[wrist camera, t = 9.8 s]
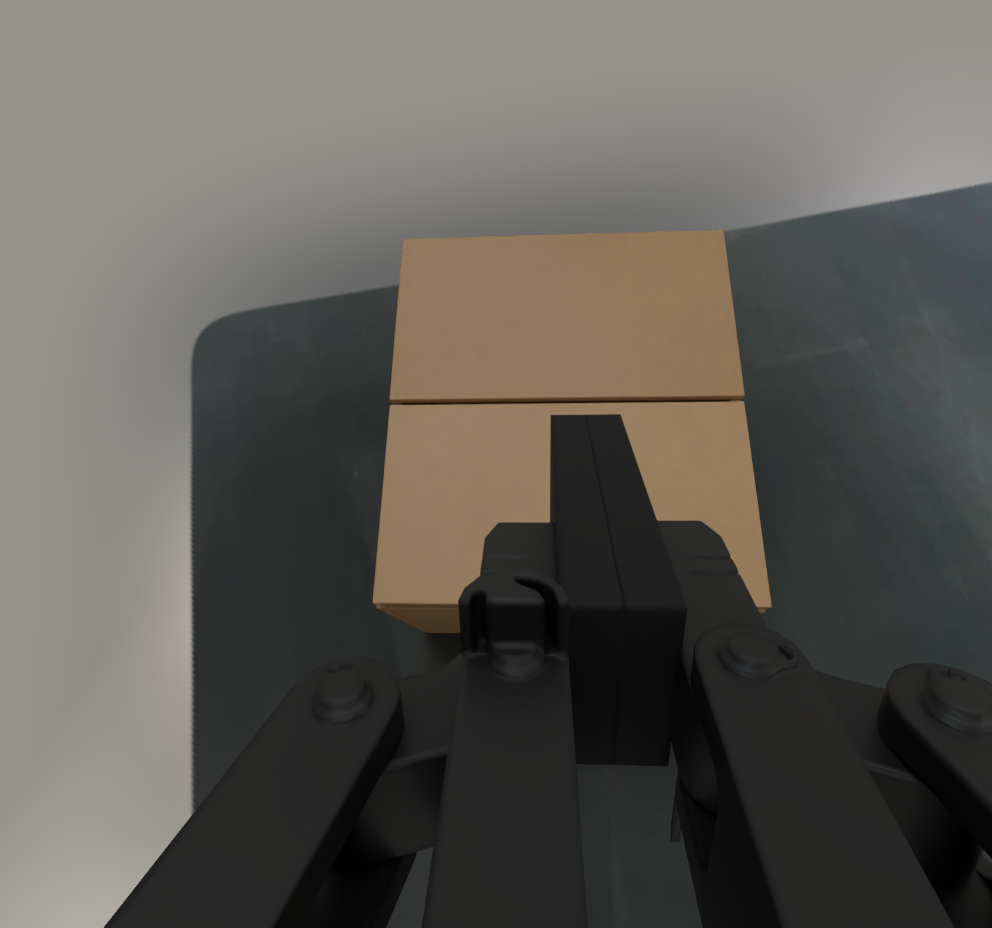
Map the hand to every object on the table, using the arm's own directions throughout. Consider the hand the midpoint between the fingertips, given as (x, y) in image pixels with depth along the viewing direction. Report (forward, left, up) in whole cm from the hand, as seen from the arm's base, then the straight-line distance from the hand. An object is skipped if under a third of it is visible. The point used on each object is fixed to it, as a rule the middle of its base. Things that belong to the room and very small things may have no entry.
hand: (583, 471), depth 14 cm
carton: (-5, +4, -20) cm, 21 cm away
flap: (-2, +1, -9) cm, 9 cm away
